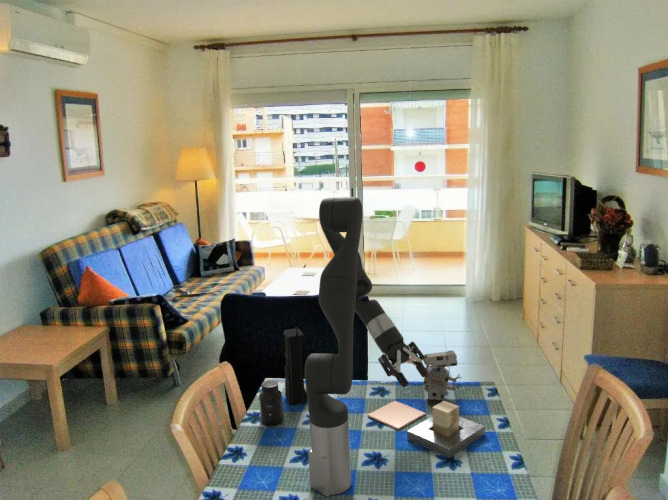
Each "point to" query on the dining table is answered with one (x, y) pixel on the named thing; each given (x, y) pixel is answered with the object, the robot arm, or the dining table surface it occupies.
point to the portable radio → (294, 367)
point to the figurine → (439, 374)
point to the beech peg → (446, 419)
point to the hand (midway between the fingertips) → (416, 380)
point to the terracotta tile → (396, 415)
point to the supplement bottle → (271, 404)
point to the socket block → (441, 443)
